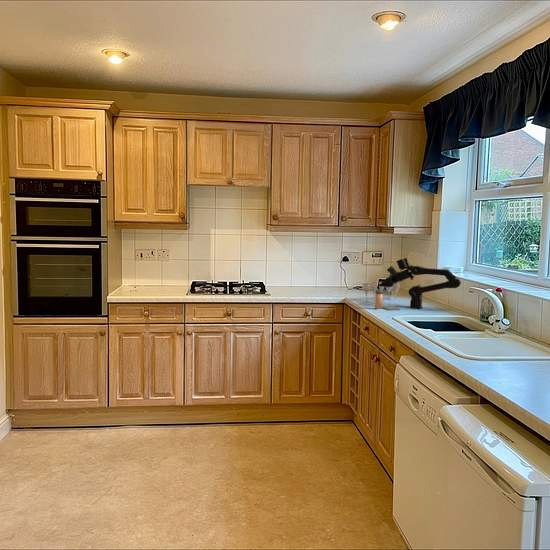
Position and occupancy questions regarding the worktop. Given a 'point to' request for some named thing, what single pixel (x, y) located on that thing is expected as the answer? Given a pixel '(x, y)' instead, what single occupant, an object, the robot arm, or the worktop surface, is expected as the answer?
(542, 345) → the worktop surface
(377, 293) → the spice jar
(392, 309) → the slate board
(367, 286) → the goblet set
